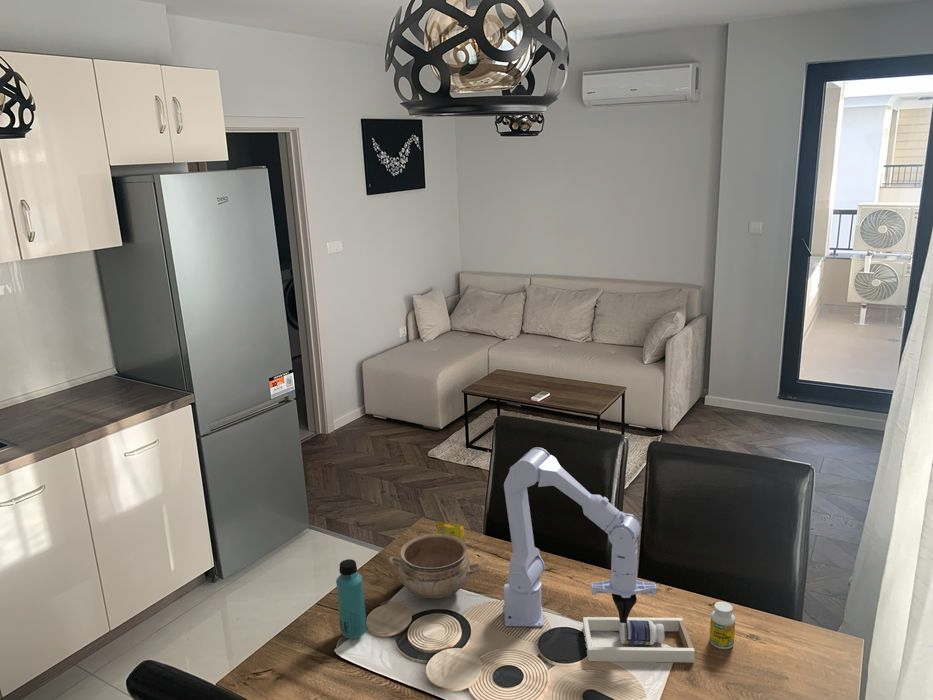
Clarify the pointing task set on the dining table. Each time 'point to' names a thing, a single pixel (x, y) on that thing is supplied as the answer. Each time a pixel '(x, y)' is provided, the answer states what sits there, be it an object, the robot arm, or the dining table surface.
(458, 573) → the cooking pot
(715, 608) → the supplement bottle
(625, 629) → the pill bottle
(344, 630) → the beverage bottle
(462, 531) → the crayon box
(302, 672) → the dining table surface
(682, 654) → the corral
